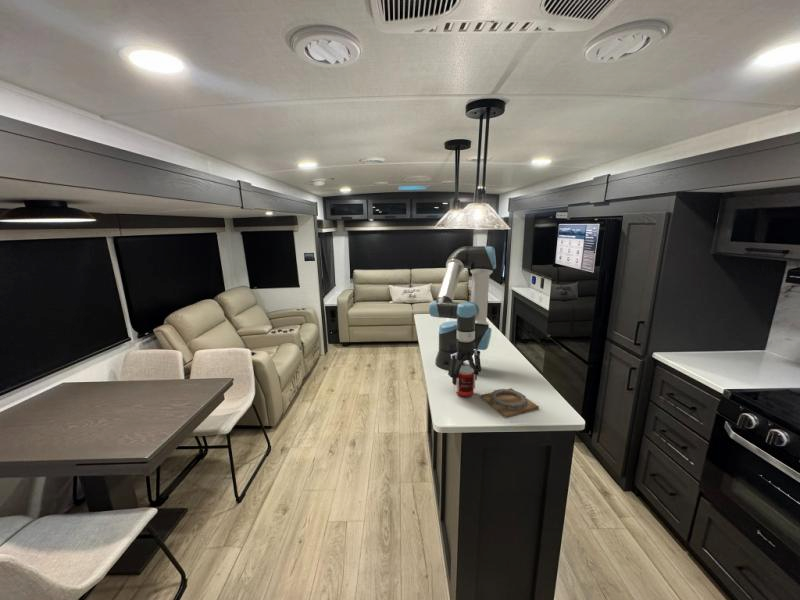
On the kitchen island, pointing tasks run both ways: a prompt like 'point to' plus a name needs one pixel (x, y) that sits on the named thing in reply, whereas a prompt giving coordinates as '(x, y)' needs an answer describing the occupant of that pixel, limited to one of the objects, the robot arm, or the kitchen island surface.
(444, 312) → the robot arm
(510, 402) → the socket board
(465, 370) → the canned food
